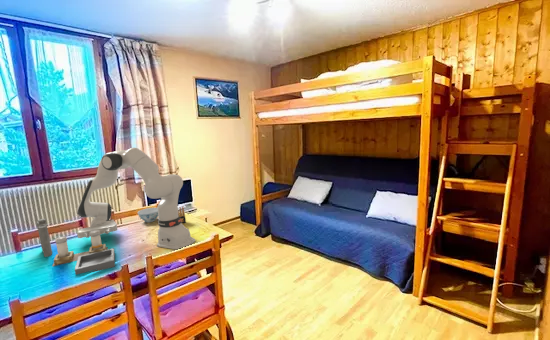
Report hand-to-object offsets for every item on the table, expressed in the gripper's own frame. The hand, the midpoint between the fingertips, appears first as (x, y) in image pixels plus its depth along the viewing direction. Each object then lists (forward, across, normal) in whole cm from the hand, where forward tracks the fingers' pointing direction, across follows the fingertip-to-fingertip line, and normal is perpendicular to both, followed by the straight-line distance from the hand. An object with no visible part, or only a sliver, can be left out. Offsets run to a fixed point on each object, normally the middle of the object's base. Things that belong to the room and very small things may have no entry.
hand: (97, 234), depth 161 cm
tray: (+24, 0, +8) cm, 25 cm away
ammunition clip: (-12, +46, +8) cm, 48 cm away
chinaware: (-32, +30, +8) cm, 45 cm away
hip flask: (-9, -25, +8) cm, 28 cm away
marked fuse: (+10, 0, +7) cm, 12 cm away
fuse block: (+10, -8, +8) cm, 15 cm away
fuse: (+10, -15, +7) cm, 19 cm away
